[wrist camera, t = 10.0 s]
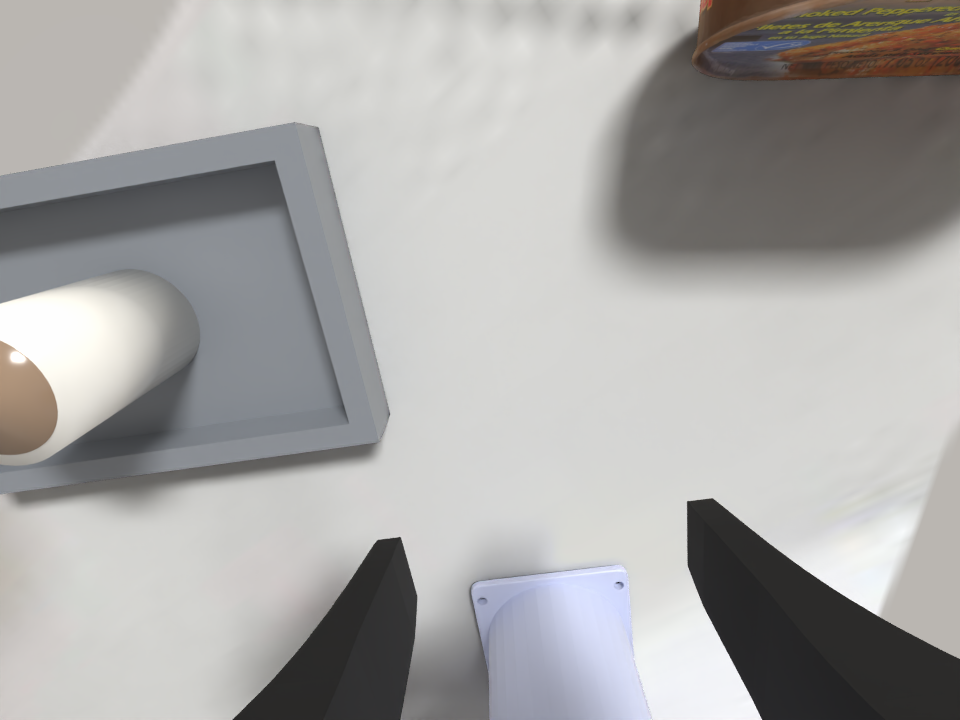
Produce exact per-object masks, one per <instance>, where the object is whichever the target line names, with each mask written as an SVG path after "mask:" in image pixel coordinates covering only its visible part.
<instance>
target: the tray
mask: <svg viewBox="0 0 960 720" xmlns="http://www.w3.org/2000/svg"><path fill="white" fill-rule="evenodd" d="M124 269H137V270H142V271H147V272H150V273H153V274H155V275H157V276H160V277H162V278H163V279H165V280H167V281H168V282H170V283H171V284H172V285H174V286H175V287H176V288H177V289H178V290H179V291H180V292H181V293H182V294H183V295H184V296H185V297H186V299H187V300H188V301H189V303H190V304H191V306H192V308H193V310H194V312H195V314H196V316H197V320H198V323H199V329H200V341H199V346H198V350H197V352H196V354H195V356H194V358H193V359H192V361H191V362H190V363H189V364H188V365H187V366H185V367H184V368H183V369H181V370H180V371H178V372H177V373H175V374H174V375H172V376H171V377H169V378H168V379H166V380H165V381H163V382H162V383H160V384H159V385H157V386H156V387H154V388H153V389H151V390H150V391H148V392H147V393H145V394H144V395H142V396H141V397H139V398H138V399H136V400H135V401H133V402H132V403H130V404H129V405H127V406H126V407H124V408H123V409H121V410H120V411H118V412H117V413H115V414H114V415H112V416H111V417H109V418H108V419H106V420H105V421H103V422H102V423H100V424H99V425H97V426H96V427H94V428H93V429H91V430H90V431H88V432H87V433H85V434H84V435H82V436H81V437H79V438H78V439H76V440H75V441H73V442H72V443H70V444H69V445H67V446H66V447H64V448H63V449H61V450H60V451H58V452H57V453H55V454H54V455H52V456H51V457H49V458H47V459H45V460H43V461H41V462H38V463H35V464H29V465H21V466H10V465H1V464H0V494H6V493H14V492H21V491H28V490H35V489H43V488H50V487H57V486H65V485H72V484H79V483H86V482H94V481H101V480H108V479H115V478H123V477H130V476H137V475H145V474H152V473H159V472H166V471H174V470H181V469H188V468H196V467H203V466H210V465H217V464H225V463H232V462H239V461H246V460H254V459H261V458H268V457H276V456H283V455H290V454H297V453H305V452H312V451H319V450H327V449H334V448H341V447H348V446H356V445H363V444H370V443H378V442H380V439H381V437H382V434H383V431H384V429H385V426H386V423H387V421H388V418H389V416H390V412H389V408H388V404H387V400H386V396H385V392H384V388H383V384H382V380H381V376H380V372H379V368H378V364H377V360H376V356H375V352H374V348H373V344H372V340H371V336H370V332H369V328H368V324H367V320H366V316H365V312H364V308H363V304H362V300H361V296H360V292H359V288H358V284H357V280H356V276H355V272H354V268H353V264H352V260H351V256H350V252H349V248H348V244H347V240H346V236H345V232H344V228H343V224H342V220H341V216H340V212H339V208H338V204H337V200H336V196H335V192H334V188H333V184H332V180H331V176H330V172H329V168H328V164H327V160H326V156H325V152H324V148H323V144H322V140H321V136H320V132H319V128H318V127H314V126H310V125H305V124H301V123H296V122H294V123H288V124H283V125H277V126H272V127H266V128H261V129H255V130H250V131H244V132H239V133H233V134H228V135H222V136H217V137H211V138H206V139H200V140H195V141H189V142H184V143H178V144H173V145H167V146H162V147H156V148H151V149H145V150H140V151H134V152H129V153H123V154H118V155H112V156H107V157H101V158H96V159H90V160H84V161H79V162H73V163H68V164H62V165H57V166H51V167H46V168H41V169H35V170H29V171H24V172H19V173H13V174H8V175H2V176H0V304H1V303H4V302H8V301H11V300H15V299H18V298H22V297H25V296H29V295H33V294H36V293H40V292H43V291H47V290H50V289H54V288H57V287H61V286H64V285H68V284H71V283H75V282H78V281H82V280H86V279H89V278H93V277H96V276H100V275H103V274H107V273H110V272H114V271H118V270H124Z"/></svg>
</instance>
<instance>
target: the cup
mask: <svg viewBox="0 0 960 720" xmlns="http://www.w3.org/2000/svg"><path fill="white" fill-rule="evenodd" d="M199 341H200V329H199V323H198V320H197V316H196V314H195V312H194V310H193V308H192V306H191V304H190V303H189V301H188V300H187V299H186V297H185V296H184V295H183V294H182V293H181V292H180V291H179V290H178V289H177V288H176V287H175V286H174V285H172V284H171V283H170V282H168V281H167V280H165V279H163V278H162V277H160V276H157V275H155V274H153V273H150V272H147V271H142V270H137V269H124V270H118V271H114V272H110V273H107V274H103V275H100V276H96V277H93V278H89V279H86V280H82V281H78V282H75V283H71V284H68V285H64V286H61V287H57V288H54V289H50V290H47V291H43V292H40V293H36V294H33V295H29V296H25V297H22V298H18V299H15V300H11V301H8V302H4V303H1V304H0V464H1V465H10V466H21V465H29V464H35V463H38V462H41V461H43V460H45V459H47V458H49V457H51V456H52V455H54V454H55V453H57V452H58V451H60V450H61V449H63V448H64V447H66V446H67V445H69V444H70V443H72V442H73V441H75V440H76V439H78V438H79V437H81V436H82V435H84V434H85V433H87V432H88V431H90V430H91V429H93V428H94V427H96V426H97V425H99V424H100V423H102V422H103V421H105V420H106V419H108V418H109V417H111V416H112V415H114V414H115V413H117V412H118V411H120V410H121V409H123V408H124V407H126V406H127V405H129V404H130V403H132V402H133V401H135V400H136V399H138V398H139V397H141V396H142V395H144V394H145V393H147V392H148V391H150V390H151V389H153V388H154V387H156V386H157V385H159V384H160V383H162V382H163V381H165V380H166V379H168V378H169V377H171V376H172V375H174V374H175V373H177V372H178V371H180V370H181V369H183V368H184V367H185V366H187V365H188V364H189V363H190V362H191V361H192V359H193V358H194V356H195V354H196V352H197V350H198V346H199Z"/></svg>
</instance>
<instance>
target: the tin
mask: <svg viewBox="0 0 960 720" xmlns="http://www.w3.org/2000/svg"><path fill="white" fill-rule="evenodd" d="M692 65H693V67H694V68H695V69H696V70H697V71H699V72H701V73H703V74H706V75H708V76H711V77H715V78H721V79H730V80H757V81H761V80H796V79H798V80H803V79H830V78H862V77H894V76H930V75H959V74H960V0H701V4H700V15H699V27H698V38H697V47H696V50H695V51H694V53H693V56H692Z"/></svg>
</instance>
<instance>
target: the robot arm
mask: <svg viewBox="0 0 960 720" xmlns="http://www.w3.org/2000/svg"><path fill="white" fill-rule="evenodd" d="M687 548H688V568H689V570H690V573H691V575H692V578H693V581H694V583H695V586H696V589H697V591H698V594H699V596H700V599H701V601H702V604H703V606H704V608H705V610H706V612H707V614H708V616H709V618H710V620H711V622H712V624H713V625H714V627H715V629H716V631H717V633H718V635H719V637H720V639H721V641H722V643H723V645H724V646H725V648H726V650H727V652H728V654H729V656H730V658H731V660H732V662H733V663H734V665H735V667H736V669H737V671H738V673H739V675H740V677H741V679H742V681H743V682H744V684H745V686H746V688H747V690H748V692H749V694H750V696H751V698H752V699H753V702H754V704H755V706H756V708H757V710H758V712H759V714H760V716H761V718H762V720H960V659H959V658H956V657H954V656H952V655H950V654H948V653H946V652H944V651H942V650H940V649H938V648H936V647H934V646H932V645H930V644H928V643H927V642H925V641H923V640H921V639H919V638H917V637H915V636H913V635H911V634H909V633H907V632H905V631H904V630H902V629H900V628H898V627H896V626H894V625H892V624H891V623H889V622H887V621H885V620H884V619H882V618H880V617H878V616H877V615H875V614H873V613H872V612H870V611H868V610H867V609H865V608H863V607H862V606H860V605H858V604H857V603H855V602H853V601H851V600H850V599H848V598H846V597H845V596H843V595H842V594H840V593H839V592H837V591H835V590H834V589H832V588H831V587H829V586H828V585H826V584H825V583H823V582H822V581H820V580H819V579H817V578H816V577H815V576H813V575H812V574H810V573H809V572H807V571H806V570H804V569H803V568H801V567H800V566H799V565H797V564H796V563H794V562H793V561H792V560H790V559H789V558H788V557H786V556H785V555H784V554H782V553H781V552H780V551H778V550H777V549H776V548H774V547H773V546H772V545H770V544H769V543H768V542H767V541H765V540H764V539H763V538H761V537H760V536H759V535H758V534H756V533H755V532H754V531H753V530H751V529H750V528H749V527H748V526H746V525H745V524H744V523H743V522H741V521H740V520H739V519H738V518H736V517H735V516H734V515H733V514H732V513H730V512H729V511H728V510H727V509H725V508H724V507H723V506H722V505H720V504H719V503H718V502H717V501H715V500H714V499H713V498H711V499H703V500H695V501H687ZM616 582H620V583H618V584H615V583H616ZM471 595H472V600H473V604H474V609H475V614H476V618H477V623H478V627H479V632H480V637H481V641H482V646H483V651H484V655H485V660H486V664H487V669H488V674H489V720H652V717H651V714H650V710H649V707H648V704H647V700H646V697H645V694H644V690H643V687H642V684H641V680H640V677H639V674H638V670H637V667H636V664H635V660H634V652H633V638H632V625H631V611H630V597H629V583H628V575H627V572H626V569H625V568H624V567H623V566H620V565H613V566H605V567H596V568H588V569H579V570H571V571H562V572H554V573H545V574H537V575H528V576H520V577H511V578H503V579H494V580H486V581H479V582H476V583H474V584H473V585H472V589H471ZM481 597H483V598H485V599H480V598H481ZM416 612H417V594H416V590H415V587H414V583H413V579H412V576H411V572H410V569H409V565H408V561H407V558H406V554H405V551H404V547H403V543H402V540H401V537H398V538H390V539H382V540H377V541H376V543H375V544H374V545H373V547H372V548H371V550H370V551H369V553H368V554H367V556H366V558H365V559H364V561H363V562H362V564H361V565H360V567H359V568H358V570H357V571H356V573H355V574H354V576H353V577H352V579H351V580H350V582H349V583H348V585H347V586H346V588H345V589H344V590H343V592H342V593H341V595H340V596H339V598H338V599H337V600H336V602H335V603H334V605H333V606H332V608H331V609H330V610H329V612H328V613H327V614H326V616H325V617H324V618H323V620H322V621H321V622H320V624H319V625H318V626H317V627H316V629H315V630H314V631H313V633H312V634H311V635H310V636H309V638H308V639H307V640H306V642H305V643H304V644H303V645H302V647H301V648H300V649H299V650H298V651H297V653H296V654H295V655H294V656H293V657H292V658H291V660H290V661H289V662H288V663H287V664H286V665H285V667H284V668H283V669H282V670H281V671H280V672H279V673H278V674H277V675H276V677H275V678H274V679H273V680H272V681H271V682H270V683H269V684H268V685H267V686H266V687H265V688H264V689H263V690H262V691H261V692H260V693H259V694H258V695H257V696H256V697H255V698H254V699H253V700H252V701H251V702H250V703H249V704H248V705H247V706H246V707H245V708H244V709H243V710H242V711H241V712H240V713H239V714H238V715H237V716H236V717H235V718H234V719H233V720H400V718H401V713H402V707H403V702H404V696H405V690H406V685H407V679H408V674H409V668H410V663H411V657H412V651H413V645H414V639H415V627H416Z"/></svg>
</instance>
